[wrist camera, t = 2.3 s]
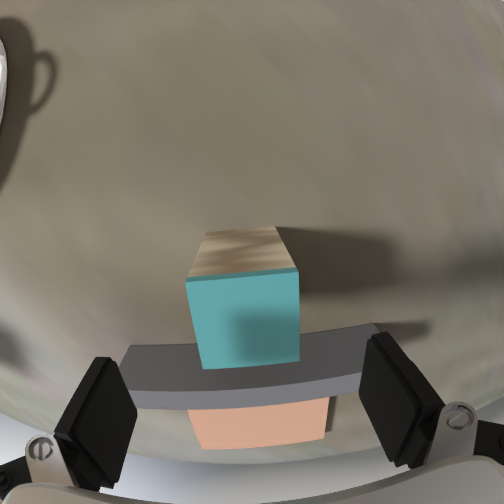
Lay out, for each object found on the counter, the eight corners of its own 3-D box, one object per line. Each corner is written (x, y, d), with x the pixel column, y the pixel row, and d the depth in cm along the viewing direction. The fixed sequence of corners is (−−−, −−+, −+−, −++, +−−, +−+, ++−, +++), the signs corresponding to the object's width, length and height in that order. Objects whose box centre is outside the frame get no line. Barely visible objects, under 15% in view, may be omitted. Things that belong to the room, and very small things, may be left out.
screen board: (373, 323, 24) (402, 362, 19) (370, 341, 25) (396, 381, 19) (129, 345, 24) (108, 388, 18) (136, 362, 25) (117, 406, 19)
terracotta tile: (328, 372, 26) (331, 379, 25) (321, 432, 29) (323, 438, 28) (182, 385, 26) (181, 392, 25) (202, 442, 29) (201, 449, 28)
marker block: (274, 226, 21) (298, 271, 13) (278, 289, 23) (299, 361, 14) (205, 232, 21) (185, 282, 13) (214, 295, 23) (203, 369, 14)
